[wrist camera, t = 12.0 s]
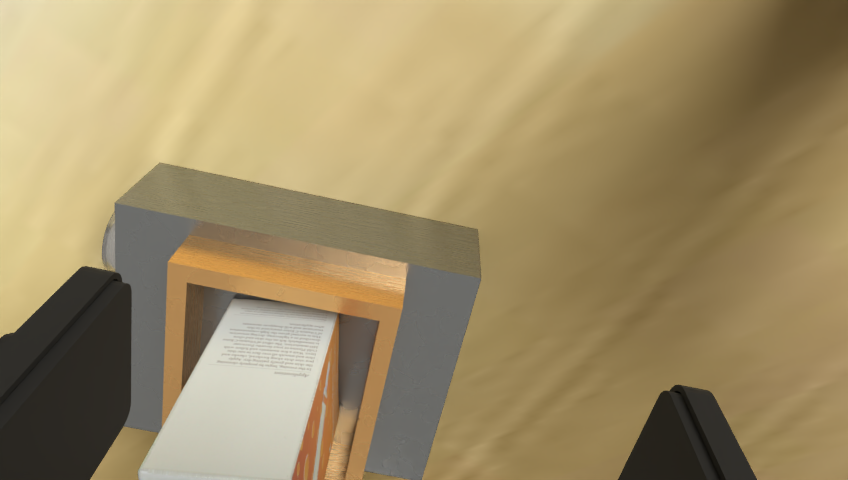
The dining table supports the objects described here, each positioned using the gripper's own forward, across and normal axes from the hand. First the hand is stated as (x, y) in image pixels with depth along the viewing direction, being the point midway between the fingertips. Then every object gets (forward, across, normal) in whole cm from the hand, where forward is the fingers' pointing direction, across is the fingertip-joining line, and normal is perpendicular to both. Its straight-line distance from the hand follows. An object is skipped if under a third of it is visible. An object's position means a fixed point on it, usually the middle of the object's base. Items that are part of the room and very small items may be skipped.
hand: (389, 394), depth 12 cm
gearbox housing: (+28, +5, +18) cm, 34 cm away
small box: (+22, +5, +18) cm, 29 cm away
